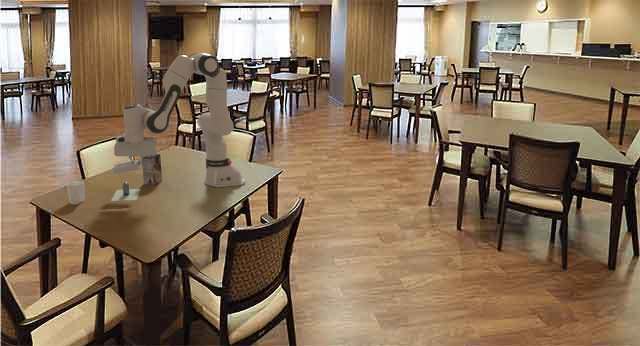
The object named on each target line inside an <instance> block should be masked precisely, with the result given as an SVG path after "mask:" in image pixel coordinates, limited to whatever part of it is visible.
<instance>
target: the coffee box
mask: <svg viewBox="0 0 640 346" xmlns="http://www.w3.org/2000/svg"><path fill="white" fill-rule="evenodd" d="M161 161H162V160H161V154H160V153H157V154H156V155H151V156H144V157H143V159H142V164H141V166H142V177H143V184H144V185H156V184H158V183H163V176H162V175H163V174H162V164H161V163H162V162H161Z"/></svg>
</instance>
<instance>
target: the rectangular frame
mask: <svg viewBox="0 0 640 346" xmlns="http://www.w3.org/2000/svg"><path fill="white" fill-rule="evenodd" d="M139 160H140V159H135V163H134V164H132V161H131V160H129V161H126V162H122V163H121V162H120V163H117V164H114V165H113V166H112V168H111V170H112V173H113V175H117V174H122V173H123V174H124V173H127V172H131V171H136V170H139V169H140V167H141V164H138V161H139Z"/></svg>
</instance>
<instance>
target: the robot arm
mask: <svg viewBox="0 0 640 346" xmlns="http://www.w3.org/2000/svg"><path fill="white" fill-rule="evenodd" d="M193 74H196V75H199V76H204V77H205V81H206V83H205V84H206V85H205V103H206V105H207V107H208V111H209V112H204V113H201V114H200V115H199V117H198V120H197V124H198V127H199V128H200V129H201V131H202V136H203V139H204V142H205V151H206V152H205V154H206V158H205V168H206V171H205V173H206V174H205V179H204V185H206V186H208V187H209V186H210V187H214V188H224V187H233V186H234V187H235V186H244V185H245V183H246V179H245V178H244V177H242V175H241V171H240V170H239V169H238V168H237V167H235V166H234V165H232V160H231V158H230V157H227V156H228V155H227V150H228V149H227V143H226V141H225V140H224V137H225V136H228V135H231V133H232V132H233V131H234V122H233V120H232V118H231V117H230V113H229V109H228V108H229V107H228V102H227V101H228V99H227V95H228V80H227V79H228V78H227V73H226V71H225V69H224V68H222V67H220V64H219V60H217V57H215V56H214V55H213V54H209V53H203V52H201V53H200V52H199V53H196V52H195V53H193V54H191V55H189V56H188V55H183V54H181V55H178V56H177V57H176V58H175V59H174V60H173V61H172V63H171V64H170V66H169V67H168V68H167V71H166V72H165V74H164V76H163V78H162V84H163V85H162V86H163V88H164V92H165V93H164V97H163V99H162V101H161V103H160V105H159V107H158V109H156V110H153V109H150V108H147V107H144V106H142V105H141V104H140V103H138V104H137V103H136V104H129V105H127V106H126V107H124V109H123V124H124V126H125V128H124V134H123V133H122V134H121V135H120V134H119V135H118V136H116V138H115V143H114V145H113V146H114V148H113V154H114V156H115V157H128V159H129V161H132V164H134V163H135V160H136V159H135V160H134V159H133V157H139V158H140V159H138V160H139V161H138V164H140V165H142V159H143V157H144V156H151V155H156V154H158V149H157V144H158V141H157V138H155V137H154V136H145V132H144V131H145V130H146V129H148V130H149V131H151V132H152V133H153V134H163V133H164V132H165V131H166V130H168V127H169V124H170V118H171V115H172V112H173V111H174V109H175V106H176V104H177V103H178V101H179V98H180V97H181V93H182V91H183V89H184V88H185V86H186V84H187V83H188V82H189V79H190V77H192V75H193ZM223 136H224V137H223Z"/></svg>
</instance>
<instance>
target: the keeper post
mask: <svg viewBox="0 0 640 346" xmlns="http://www.w3.org/2000/svg"><path fill="white" fill-rule="evenodd" d="M121 187H122V190H123V195H124V196H127V195H129V189H130V183H128V182H127V181H126V182H123V183H122V186H121Z"/></svg>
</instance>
